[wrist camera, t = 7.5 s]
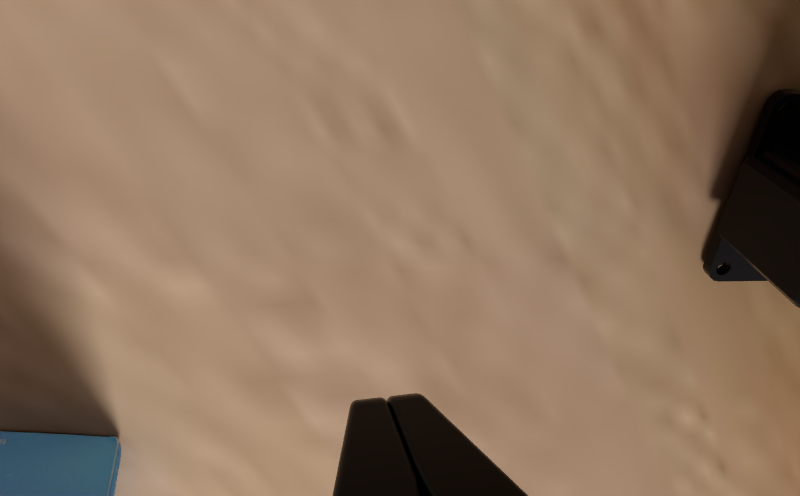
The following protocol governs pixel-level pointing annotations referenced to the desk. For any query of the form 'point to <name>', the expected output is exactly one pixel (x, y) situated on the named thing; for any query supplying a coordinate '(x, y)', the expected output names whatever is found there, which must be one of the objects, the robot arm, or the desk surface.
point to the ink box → (58, 464)
